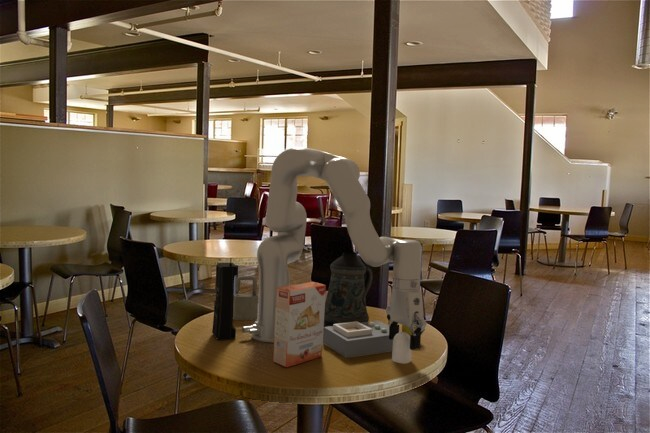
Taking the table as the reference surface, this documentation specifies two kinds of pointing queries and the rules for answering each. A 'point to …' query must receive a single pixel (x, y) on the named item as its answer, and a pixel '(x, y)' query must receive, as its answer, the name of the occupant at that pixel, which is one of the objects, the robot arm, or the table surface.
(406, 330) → the lemon
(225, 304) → the black rectangular column
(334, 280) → the beer stein
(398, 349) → the white domed cylinder
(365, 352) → the grey button console
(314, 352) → the cracker box
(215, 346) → the table surface
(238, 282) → the padlock
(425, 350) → the table surface
